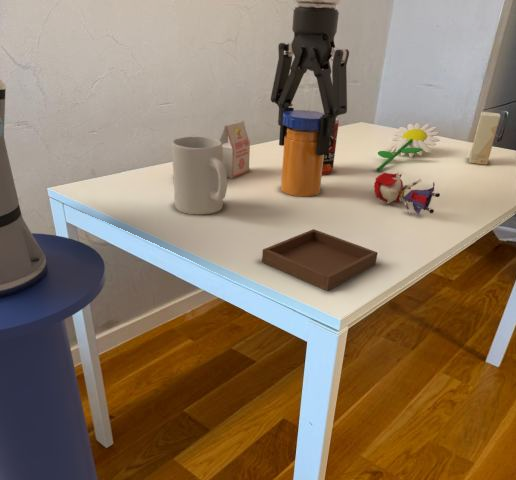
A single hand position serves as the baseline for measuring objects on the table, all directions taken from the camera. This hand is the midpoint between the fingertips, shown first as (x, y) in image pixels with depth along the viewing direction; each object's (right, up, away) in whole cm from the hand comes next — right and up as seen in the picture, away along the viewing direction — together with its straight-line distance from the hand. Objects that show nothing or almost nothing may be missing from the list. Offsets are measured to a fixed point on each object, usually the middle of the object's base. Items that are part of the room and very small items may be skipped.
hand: (303, 149), depth 96 cm
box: (+46, +8, +30) cm, 56 cm away
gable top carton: (-14, 0, +13) cm, 19 cm away
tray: (0, -26, -23) cm, 35 cm away
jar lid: (0, +5, -3) cm, 6 cm away
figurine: (+18, -12, -1) cm, 22 cm away
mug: (-18, -14, -7) cm, 24 cm away
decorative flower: (+27, +9, +29) cm, 40 cm away
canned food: (+4, +2, +17) cm, 18 cm away
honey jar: (0, -6, +4) cm, 8 cm away
